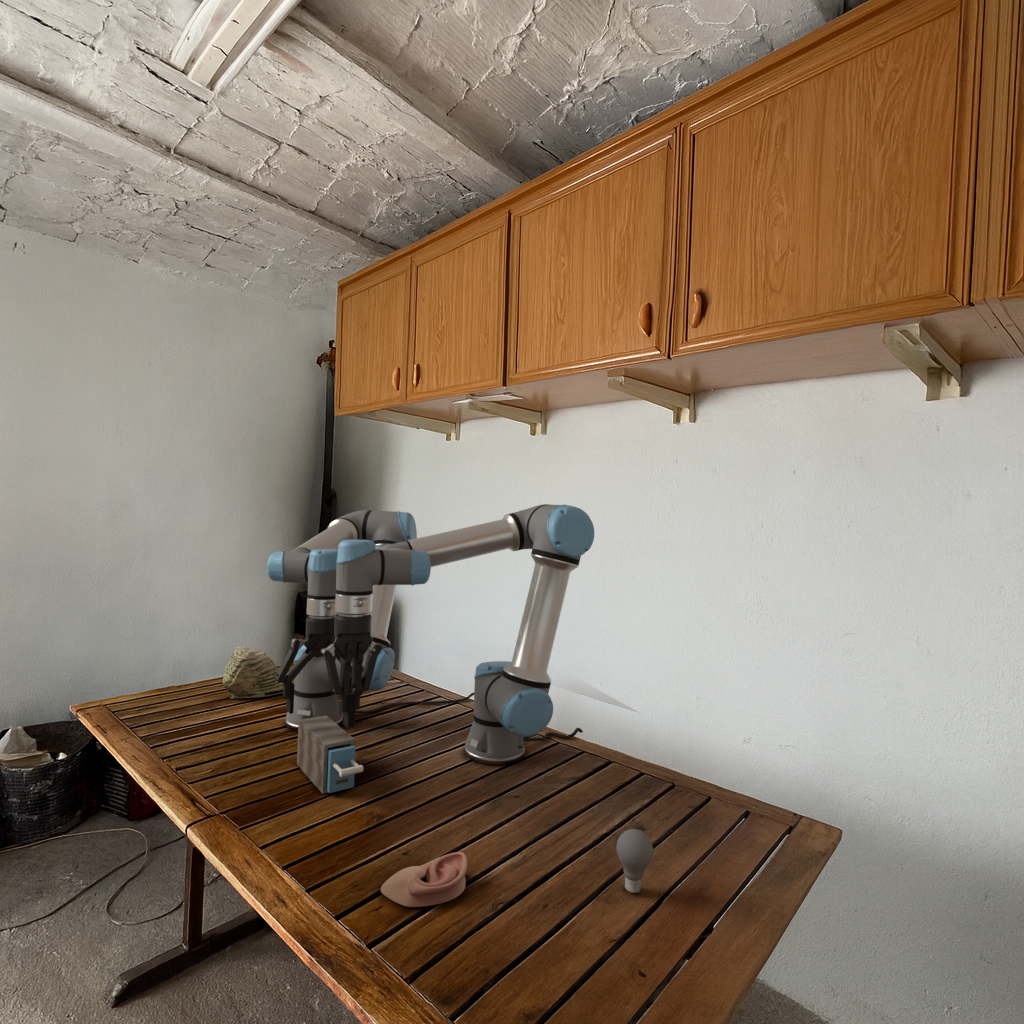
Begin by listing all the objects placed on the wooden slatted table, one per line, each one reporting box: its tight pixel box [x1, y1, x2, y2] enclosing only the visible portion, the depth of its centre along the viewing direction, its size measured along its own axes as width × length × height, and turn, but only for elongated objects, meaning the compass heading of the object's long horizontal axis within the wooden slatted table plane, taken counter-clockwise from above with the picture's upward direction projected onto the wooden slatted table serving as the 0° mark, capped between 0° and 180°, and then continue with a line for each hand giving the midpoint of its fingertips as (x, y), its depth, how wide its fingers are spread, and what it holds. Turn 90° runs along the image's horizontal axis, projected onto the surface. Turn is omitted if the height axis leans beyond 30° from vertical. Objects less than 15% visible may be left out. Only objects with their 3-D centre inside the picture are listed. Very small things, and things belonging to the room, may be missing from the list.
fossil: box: [222, 646, 283, 699], centre depth 198 cm, size 9×18×15 cm, turn 132°
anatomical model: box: [380, 851, 468, 908], centre depth 104 cm, size 13×4×12 cm
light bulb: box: [615, 828, 654, 894], centre depth 106 cm, size 6×6×10 cm
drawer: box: [327, 744, 364, 794], centre depth 140 cm, size 22×6×9 cm, turn 36°
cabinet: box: [296, 715, 355, 795], centre depth 144 cm, size 17×7×10 cm, turn 36°
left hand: (319, 707), depth 147 cm, fingers open, 13 cm apart
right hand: (349, 725), depth 133 cm, fingers closed
